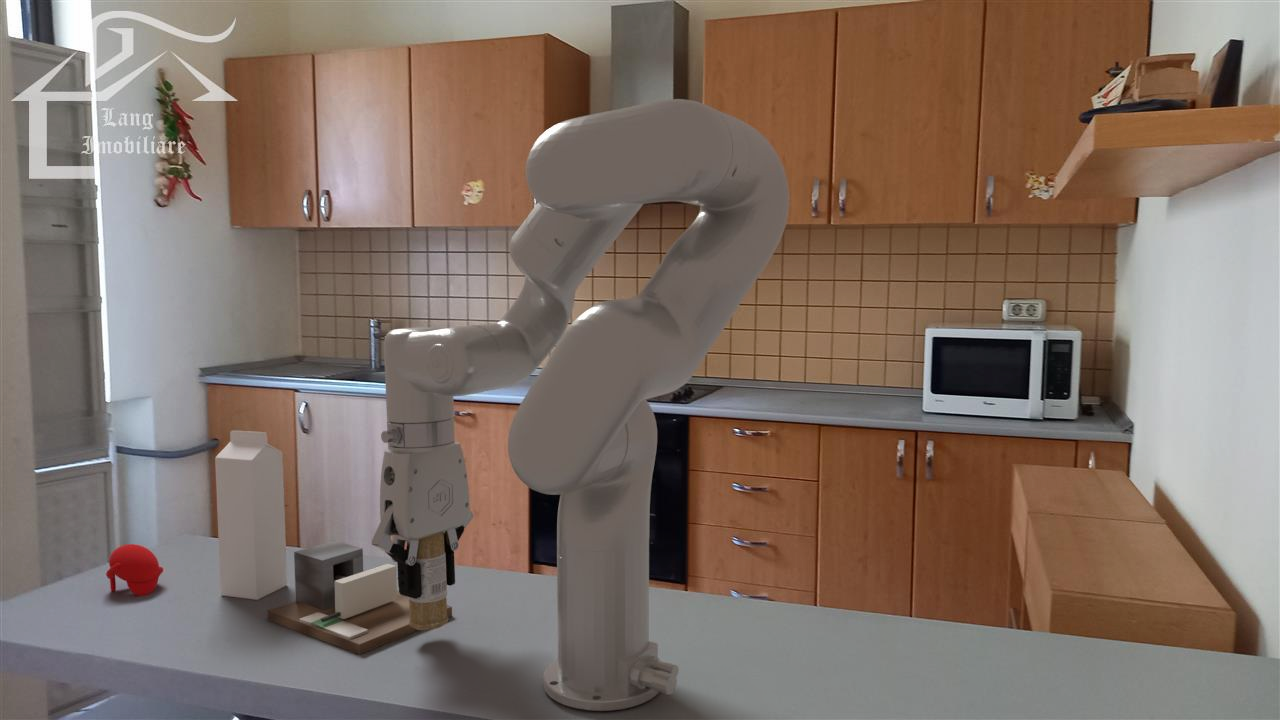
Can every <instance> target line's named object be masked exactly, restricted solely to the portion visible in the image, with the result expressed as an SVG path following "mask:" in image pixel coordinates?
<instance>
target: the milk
mask: <svg viewBox="0 0 1280 720" xmlns="http://www.w3.org/2000/svg"><path fill="white" fill-rule="evenodd" d="M214 462H215V464H214V466H215V467H214V468H215V484H216V485H215V487H216V489H215V490H216V509H217V510H216V512H217V514H216V515H217V531H218V532H217V534H218V535H217V537H218V556H219V557H218V558H219V578H220V579H219V583H220V595H221V596H225V597H232V598H239V599H247V600H254V601H255V600H256V601H258V600H261V599H262V598H264V597H266V596H268V595H270V594H272V593H274V592H276V591H278V590H281V589H282V588H285V587H287V586H288V573H287V571H288V568H287V567H288V566H287V546H286V545H287V544H286V516H285V489H284V485H285V483H284V461H283V451H281V450H280V449H277V448H276V447H274V446H273V445H271V444H269V443H268V434H267V432H266V431H264V432H262V431H250V430H248V431H246V430H230V432H229V442H228V444H227V445H226V446H225V447H223V449H222V450H221V451H220V452H219V453H218V454H217V455H216V456H215V457H214Z"/></svg>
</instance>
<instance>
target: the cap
mask: <svg viewBox="0 0 1280 720" xmlns="http://www.w3.org/2000/svg"><path fill="white" fill-rule="evenodd" d="M108 562H109V564H108V565H109V569H108V570H106V573H105V575H106V578H108V580H109V583H110V591H111V592H114V591H116V589H117V583H116V582H117V581H116V577H118V578H119V579H120V580H122V581H124V582H126V584H127V587H128V589H129V590H130V592H131V593H133V594H134V595H135V596H139V597H143V596H144V597H145V596H148V595H150V594H151V593H152V592H153V591H154V590H155V589H156V587H157V585H158V581H159V577H161V575H162V573H163V572H164V568H163V567H162V566H160V565H159V560H158V558H157V557H156V555H155V554H154V552H152V551H151V550H150V549H149V548H147V547H145V546H144V545H143V546H142V545H140V544H135V543H129V544H127V543H126V544H124V545H120V546H119V547H116V549H114V550H113V551H112V553H111V554H110V556H109V560H108Z"/></svg>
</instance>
